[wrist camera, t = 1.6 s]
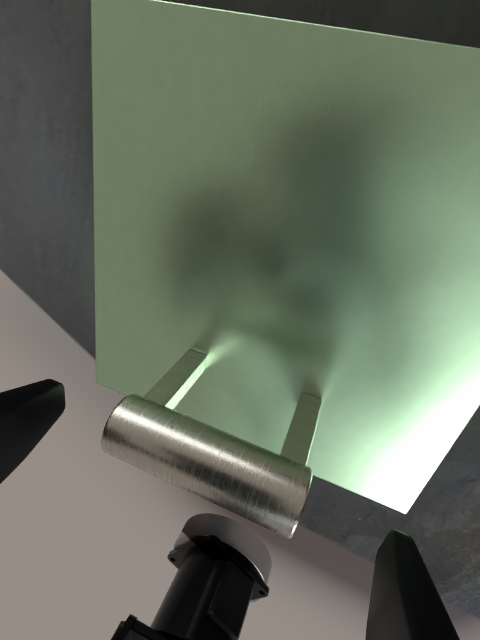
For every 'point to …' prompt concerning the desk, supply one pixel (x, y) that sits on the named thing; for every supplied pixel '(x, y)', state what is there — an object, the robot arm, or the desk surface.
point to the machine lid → (283, 253)
